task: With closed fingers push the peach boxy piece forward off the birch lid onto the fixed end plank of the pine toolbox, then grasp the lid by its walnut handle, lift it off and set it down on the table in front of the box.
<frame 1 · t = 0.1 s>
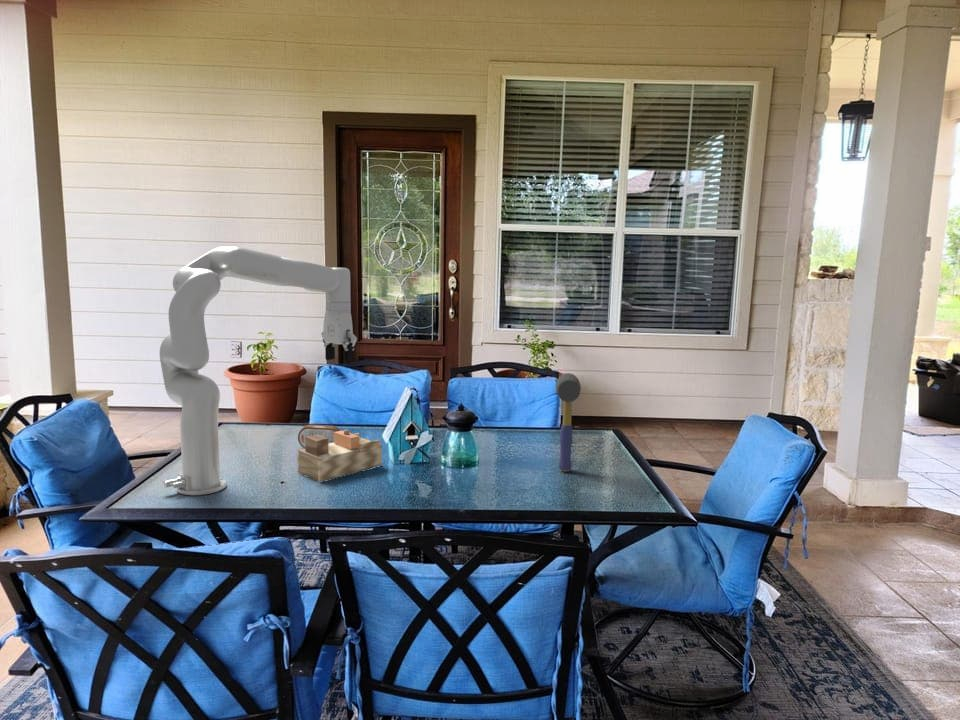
hand: (339, 361, 208), 31 cm above the table, tool pointing down, fingers open, 9 cm apart
peach boxy piece: (346, 437, 199), point 10 cm above the table, slide at 0.0 cm
lid: (328, 453, 195), point 6 cm above the table, touching toolbox
toolbox: (340, 469, 199), on the table
rubber mallet: (564, 471, 203), on the table
tin: (320, 450, 219), on the table
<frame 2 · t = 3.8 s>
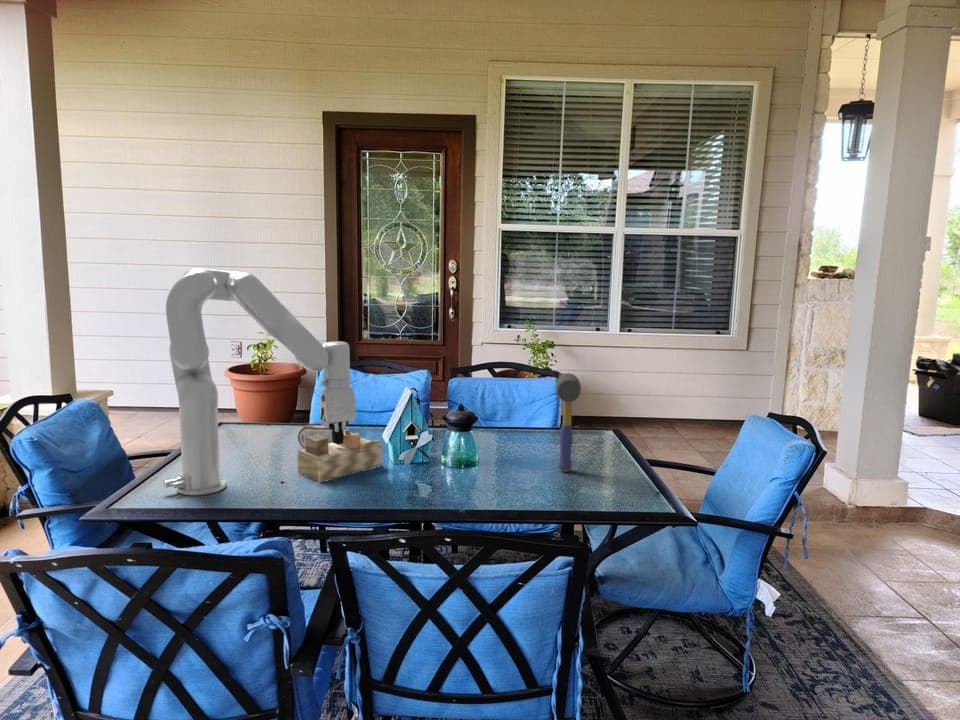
hand: (338, 443, 197), 8 cm above the table, tool pointing down, fingers closed
peach boxy piece: (347, 437, 200), point 10 cm above the table, slide at 0.4 cm, touching gripper
everything else where it was.
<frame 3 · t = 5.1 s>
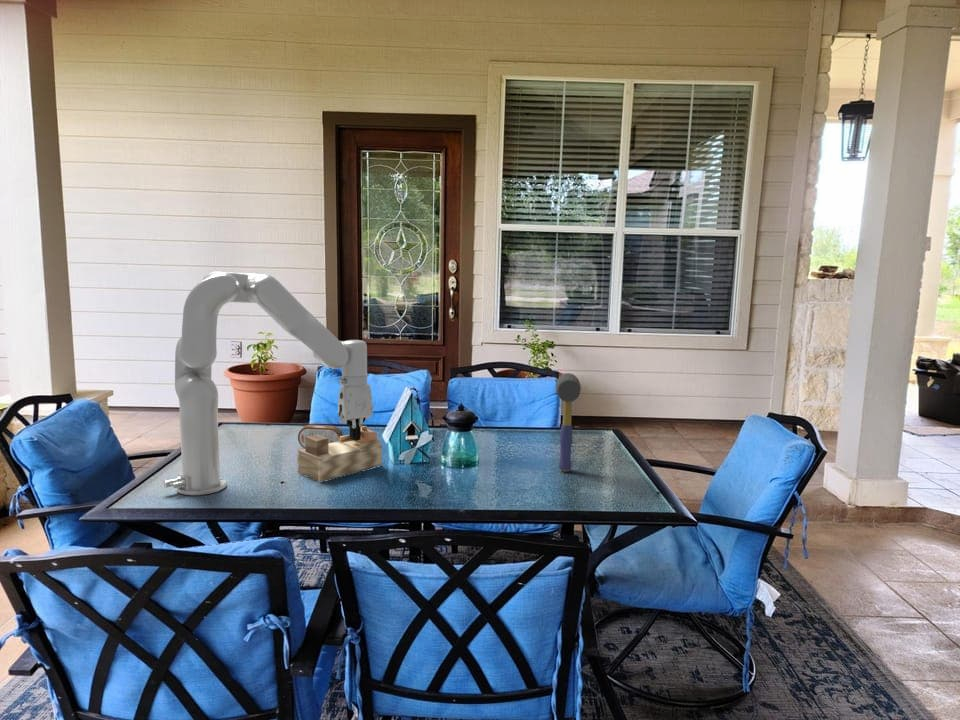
hand: (355, 439, 202), 8 cm above the table, tool pointing down, fingers closed
peach boxy piece: (364, 434, 204), point 10 cm above the table, slide at 6.6 cm, touching gripper
everything else where it was.
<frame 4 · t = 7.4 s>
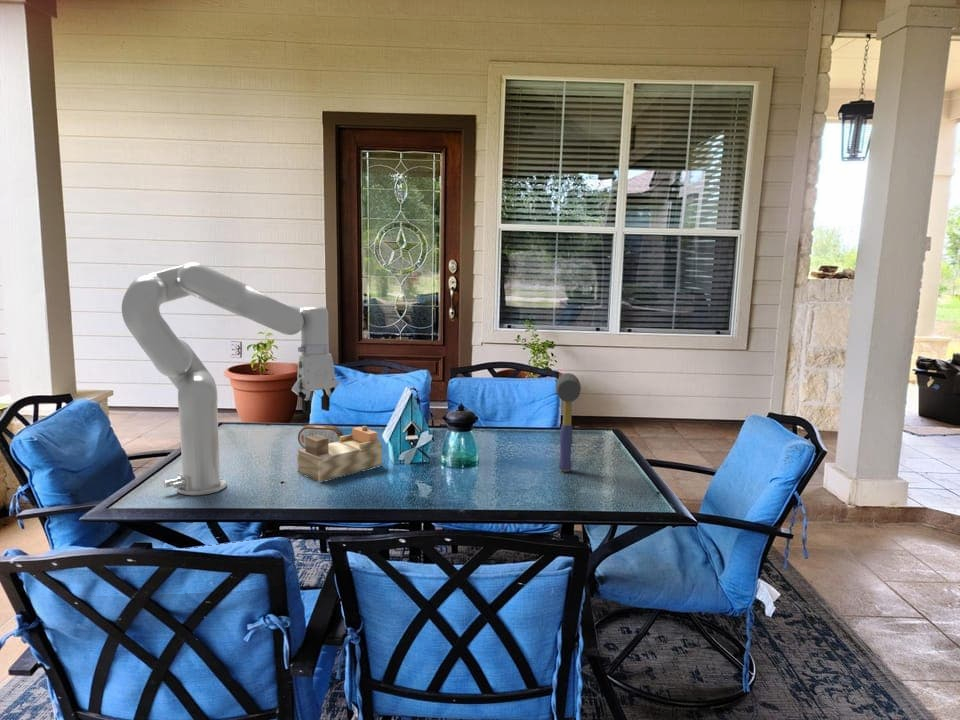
hand: (316, 411, 190), 19 cm above the table, tool pointing down, fingers open, 5 cm apart
peach boxy piece: (364, 433, 204), point 10 cm above the table, slide at 6.7 cm
everything else where it was.
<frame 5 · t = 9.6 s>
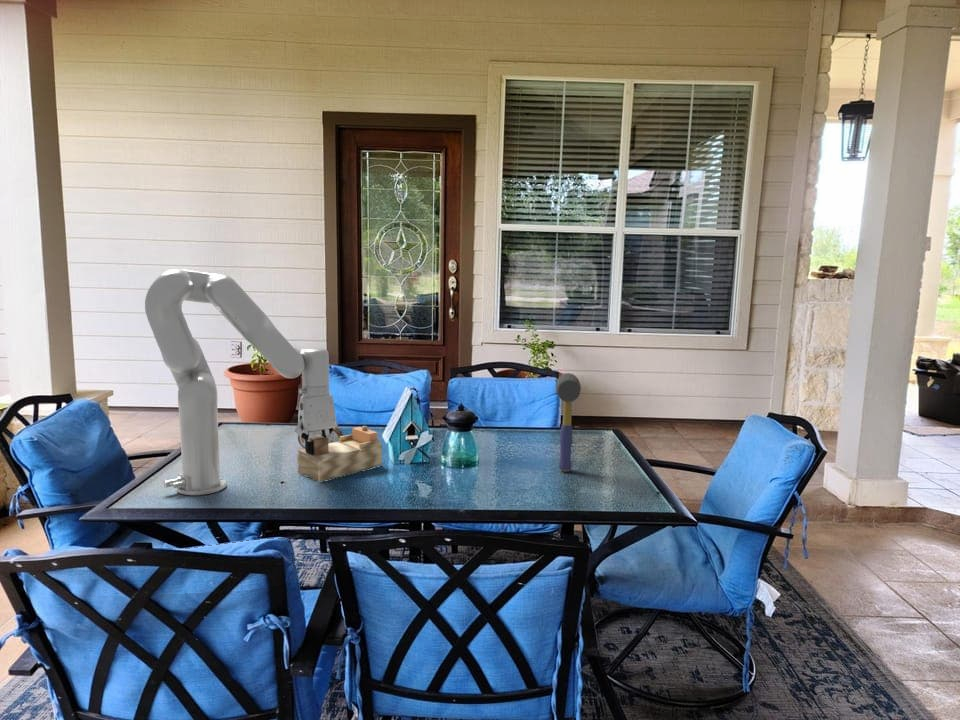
hand: (316, 451, 192), 7 cm above the table, tool pointing down, fingers closed on lid, 4 cm apart
lid: (328, 453, 195), point 6 cm above the table, touching gripper, toolbox
everything else where it was.
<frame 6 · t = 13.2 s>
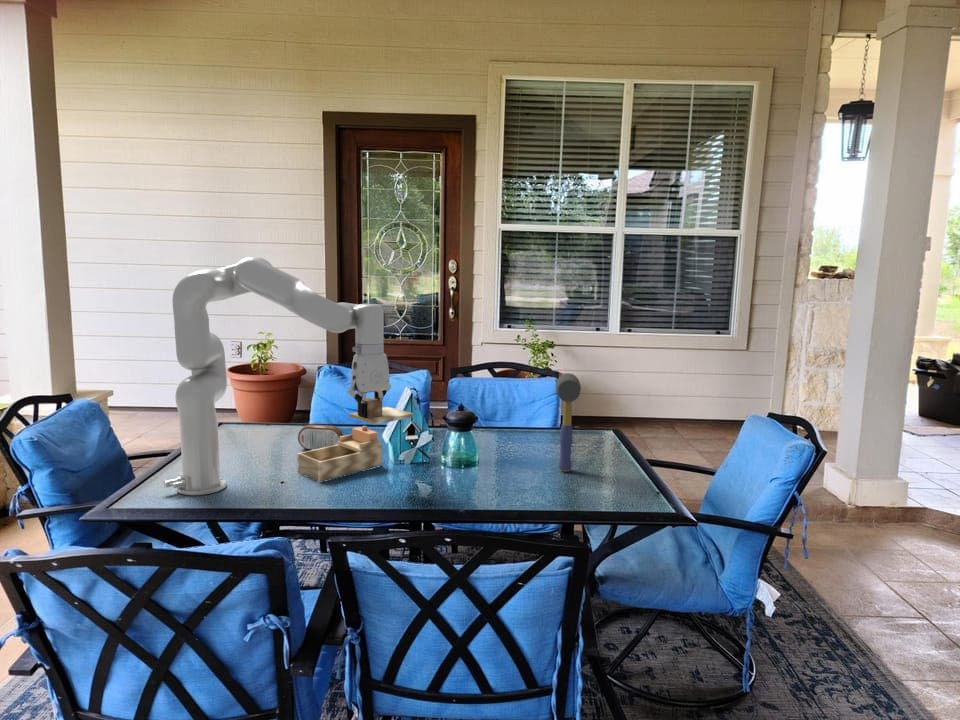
hand: (369, 414, 181), 21 cm above the table, tool pointing down, fingers closed on lid, 4 cm apart
lid: (381, 417, 184), point 20 cm above the table, touching gripper
everything else where it was.
when the fingers open (3 cm above the table, at t = 16.7 s): lid drops 2 cm, on the table.
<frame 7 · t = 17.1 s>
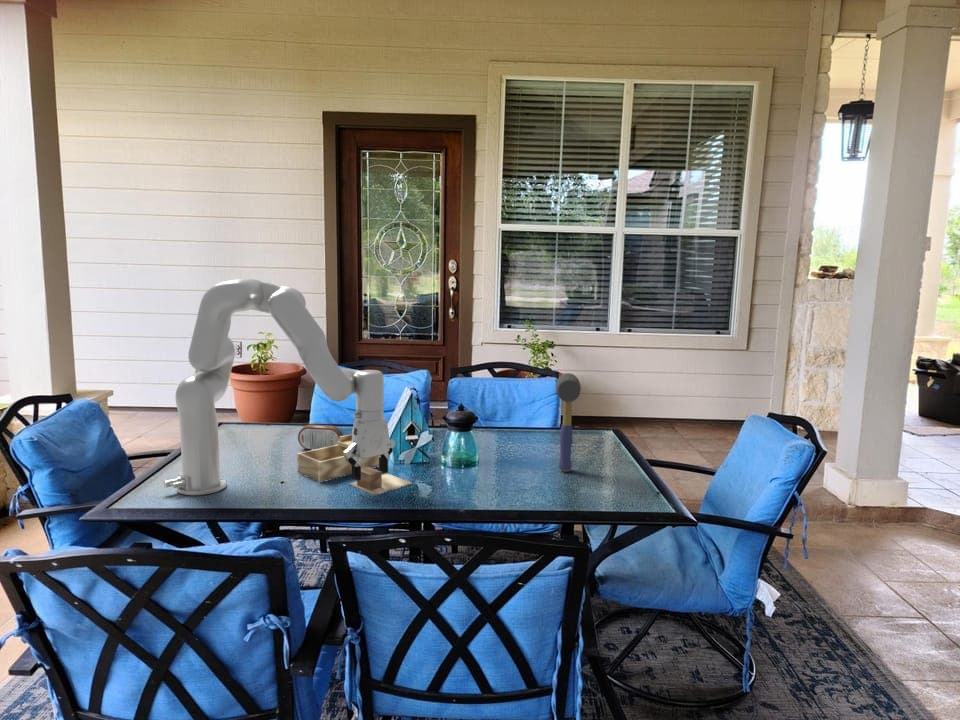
hand: (370, 475, 183), 4 cm above the table, tool pointing down, fingers open, 8 cm apart
lid: (380, 486, 187), on the table
everything else where it was.
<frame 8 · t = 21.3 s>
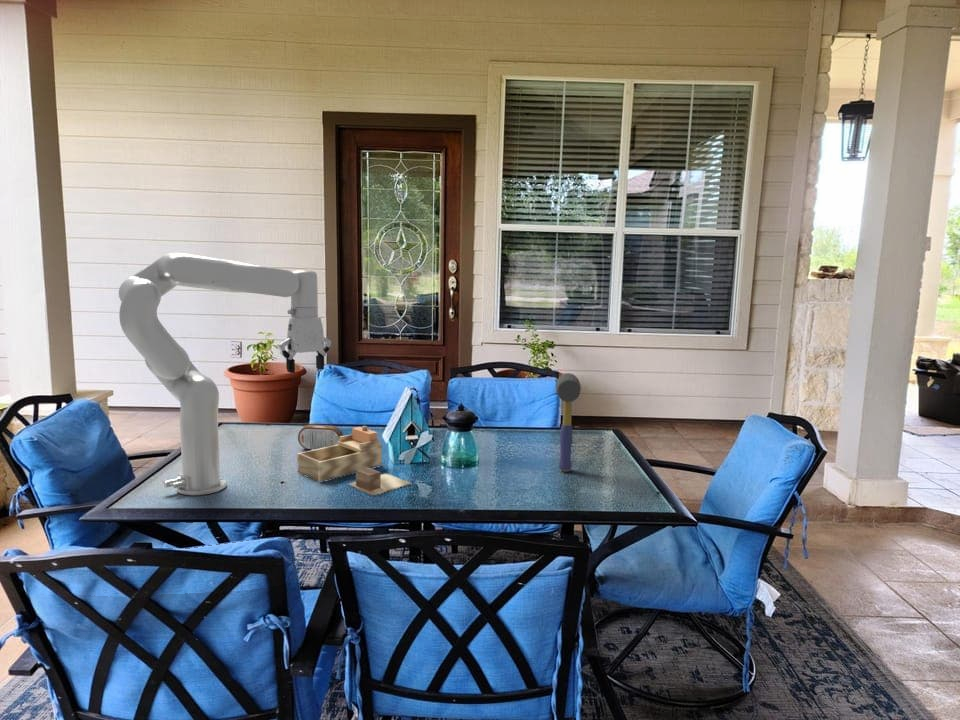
hand: (305, 370, 194), 30 cm above the table, tool pointing down, fingers open, 9 cm apart
nothing on the table moved.
at the end: peach boxy piece slide at 6.7 cm; lid inside the target area (2.4 cm from its centre), on the table; lid tilted 0° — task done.
